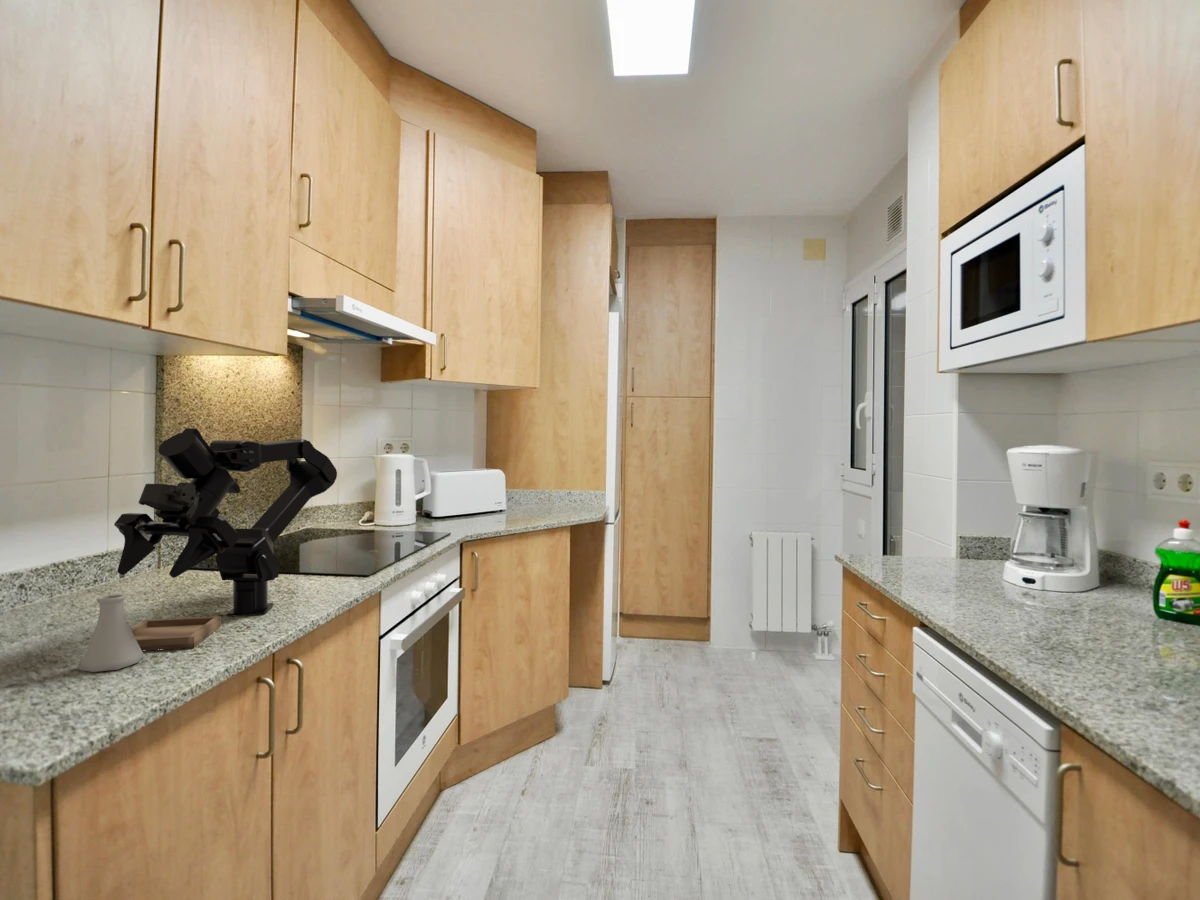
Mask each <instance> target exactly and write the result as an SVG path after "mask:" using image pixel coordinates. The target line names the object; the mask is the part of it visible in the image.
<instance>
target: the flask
mask: <svg viewBox="0 0 1200 900" xmlns="http://www.w3.org/2000/svg"><path fill="white" fill-rule="evenodd" d="M126 598H127V594H126V593H111V594H106V595H101V596H98V597H97V599H96V601H97V603H99V614H98V618H97V624H96V626H95V629H94V632H93V635H92V637H91V638H90V639H91V640H90V641H89V644H88V646H87V649H86V651H85V654H84V656H83V658H82V661H81V663H80V665H79V668H78V670H79V671H84V672H92V673H95V672H105V671H115V670H116V671H117V670H120V669H122V668H127V667H129V666H132V665H134V664H138V663H139V662H140V661H141V660H142V659H143V658H144V657H145V654H144V651H142V650H141V648H140V646H139V645H138V643H137V641H136V639H135V637H134V635H133V633H132V631H131V626H130V624H129V622H128V620H127V615H126V612H125V608H124V607H125V604H124V603H125V601H124V600H125V599H126Z"/></svg>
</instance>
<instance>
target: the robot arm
mask: <svg viewBox="0 0 1200 900" xmlns="http://www.w3.org/2000/svg"><path fill="white" fill-rule="evenodd" d="M158 453H159V455H160V456H161V457H162V458H163V460H164V461H166V463H167V464H168V465H169V466H170V467H171V468H172V469H173V471H174V472H176V474H177V475H178V476H179V478H181V479H185V480H189V479H191V480H190V482H178V484H167V483H146V484H145V485H144V488H143V490H142V493H141V494H140V497H139V501H138V504H139V505H141V506H148V507H150V508H152V509H154V510H155V511H154V514H155V516H157V517H158V518H161V519H162V520H161V521H155V520H154V519H152V517H150V516H149V514H147V513H141V512H138V513H136V512H135V513H133V512H128V513H122V514H120V516H119V517H118V518H117V520H116V521H115V522H114V525H113V526H114V527H115V528H117V530H118V532H119V533H120V534H121V535H122V536H123V537H124V544H123V549H122V553H121V556H120V560H119V564H118V567H117V570H116V571H117V573H118V574H119V575H120V576H124V575H126V574H128V573H129V572H130V571H132V569H134V568H135V567H136V566H137V565H138V564H139V563H141V562H142V561H143V560H144V559H145V558H146V557H147V556H148V555H150V554H151V553H152V552H154V550H156V546H155V545H157V544H159V543H160V542H161V540H162V539H163V538H164V537H163V536H172V537H173V536H176V537H179V538H187V543H186V544H185V546H184V548H183V549H182V551H181V553H180V554H179V556H178V557H177V558H176V560H175V562H174V564H173V565H172V567H171V569H170V571H169V576H170V577H171V578H173V579H175V578H177V577H179V576H180V575H182V574H185V572H187V571H189V570H190V569H192V568H194V567H195V566H197V565H199V564H200V563H202V562H204V561H206V560H208V559H210V558H211V557H213V556H215V563H216V566H217V569H218V571H219V575H220V579H221V580H222V581H232V588H233V589H232V591H233V592H232V596H233V597H232V598H233V599H232V600H233V601H232V603H233V605H232V606H233V607H232V609H230V610H228V612H226V617H232V616H233V617H235V616H254V615H258V616H259V615H265V614H266V613H268V611H269V610H270V609H272V608H273V607H274V603H273V602H268V599H269V598H268V582H269V581H274V580H275V579H277V578H278V577H279V575H280V570H281V565H280V564H279V563H278V562H277V561H276V559H275V558H274V554H275V552H274V544H275V541H277V539H278V538H279V537H280V535H282V533H283V532H284V530H285V529H286V528H287V527H288V526H289V525H290V523H291V522H292V521H293V520H294V519H295V517H296V516H297V515H298V514H299V513H300V511H302V509H303V507H305V505H306V504H307V503H308V502H309V501H310V500H311V499H312V498H313V497H316V496H318V495H321V494H323V493H326V491H327V490H329V489H330V488H331V487H332V486H333V485H334V484H335V481H336V480H337V477H338V470H337V469H336V466H335V465H334V463H332V461H331V459H330V458H329V457H328V456H327V455H326V454H324V453H322V452H321V451H320V450H318V449H316V447H315V446H314V445H313V444H312V443H311V441H310V440H307V439H304V438H303V439H301V438H299V439H294V438H292V439H291V438H290V439H286V440H281V441H280V440H279V441H267V442H258V441H251V440H236V439H235V440H232V439H231V440H229V439H228V440H227V439H226V440H225V439H224V440H222V439H221V440H217V439H216V440H213V441H212V442H211V443H210V444H208V442H206V440H205V439H204V438H203V435H202V433H200V431H199V429H198V428H195V427H194V428H193V427H192V428H188V427H187V428H185V429H184V430H183V431H182V432H180V433H177V434H175V435H172V436H171V437H168V438H167V439H165V440H163V441H162V442H161V443H160V445H159V447H158ZM298 459H304V460H301V461H299V460H298ZM278 461H279V462H280V461H286V471H288V474H289V485H288V486H287V488H285V490H284V491H283V492H281V494H280V495H279V496H278V497H277V499H276V500H275V501H274V502H273V503H272V504H271V505H270V506H269V507H268V508H267V509H266V511H265V512H264V513H263V514H262V515H261V516H260V518H258V520H257V521H255V523H254V524H253V525H252V526H251V527H250V528H235V527H234V526H233V525H232V524H231V523H230V522H229V521H228V519H227V518H226V517H225V516H224V515H220V514H221V511H220V510H219V509H218V507H219V505H220V504H221V502H222V501H223V500H224V498H225V497H226V495H227V494H240V492H241V487H240V484H239V483H238V482H239V481H238V480H239V479H238V478H236V477H235V478H234V477H233V476H232V474H231V473H247V472H250V471H253V470H256V469H258V468H259V467H261V466H262V464H267V463H273V462H278ZM230 472H231V473H230Z"/></svg>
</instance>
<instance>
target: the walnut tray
mask: <svg viewBox="0 0 1200 900" xmlns="http://www.w3.org/2000/svg"><path fill="white" fill-rule="evenodd" d="M221 625H222V624H221V616H219V615H218V616H216V615H215V616H202V617H201V616H200V617H179V618H178V617H177V618H162V619H159V618H157V619H144V620H142V622H139V623H138V624H136V625H134V626H133V627H130V629H131V631H132V633H133V635H134V637H135V639H136V641H137V643H138V645H139V646H140V648H141V650H157V651H161V650H160V649H173V650H182V649H181V648H189V649H195V648H197V647H198V646H199V645H200V644H201V643H203V642H204V641H205V640H206V639H207V638H209V637H210V636H211V635H212V634H213V633H214V632H216V631H217V630H218V629H219V628H221ZM217 628H218V629H217ZM216 629H217V630H216ZM215 630H216V631H215ZM212 632H213V633H212ZM211 633H212V634H211ZM210 634H211V635H210ZM209 635H210V636H209ZM206 637H207V638H206ZM205 638H206V639H205ZM204 639H205V640H204ZM203 640H204V641H203ZM200 642H201V643H200ZM199 643H200V644H199ZM198 644H199V645H198ZM197 645H198V646H197ZM194 647H195V648H194ZM179 648H180V649H179ZM158 649H159V650H158Z"/></svg>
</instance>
